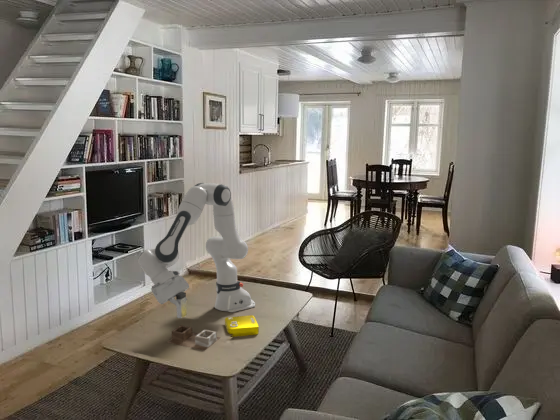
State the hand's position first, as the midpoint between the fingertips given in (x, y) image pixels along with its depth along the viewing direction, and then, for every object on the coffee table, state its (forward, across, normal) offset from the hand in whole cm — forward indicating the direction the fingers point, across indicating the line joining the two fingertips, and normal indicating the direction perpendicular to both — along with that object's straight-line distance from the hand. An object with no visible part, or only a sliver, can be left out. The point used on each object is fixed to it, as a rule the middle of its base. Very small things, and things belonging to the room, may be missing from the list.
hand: (182, 303), depth 214 cm
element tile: (+27, +21, 0) cm, 34 cm away
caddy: (+17, 0, +9) cm, 19 cm away
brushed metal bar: (+4, 0, +5) cm, 6 cm away
